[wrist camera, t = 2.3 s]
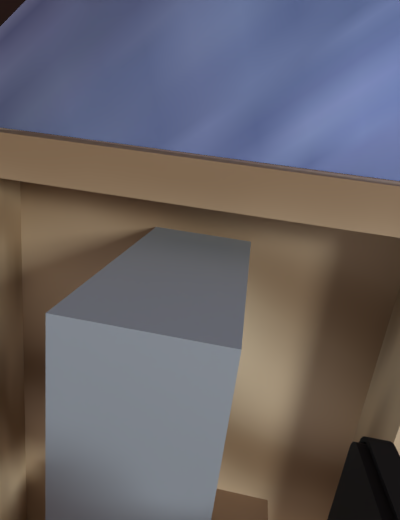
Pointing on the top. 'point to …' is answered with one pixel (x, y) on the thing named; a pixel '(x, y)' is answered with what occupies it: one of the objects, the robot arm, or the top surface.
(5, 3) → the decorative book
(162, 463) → the grey rectangular block
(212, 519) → the tan flat block
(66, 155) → the tray
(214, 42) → the top surface
